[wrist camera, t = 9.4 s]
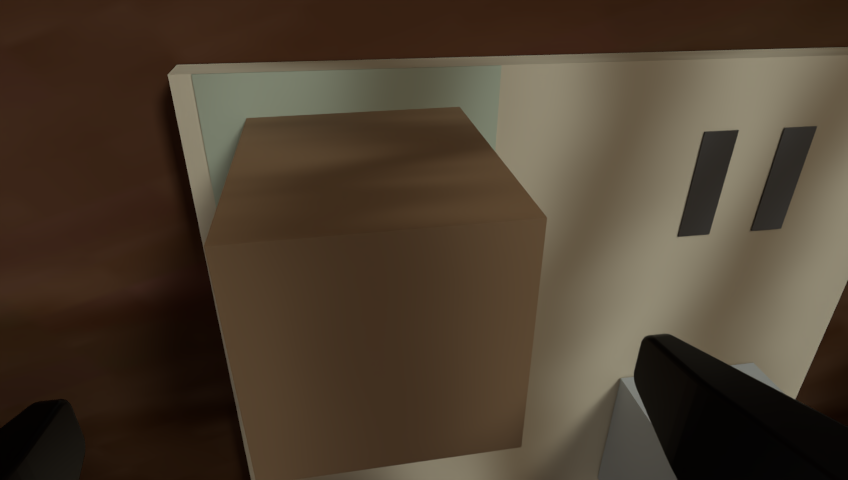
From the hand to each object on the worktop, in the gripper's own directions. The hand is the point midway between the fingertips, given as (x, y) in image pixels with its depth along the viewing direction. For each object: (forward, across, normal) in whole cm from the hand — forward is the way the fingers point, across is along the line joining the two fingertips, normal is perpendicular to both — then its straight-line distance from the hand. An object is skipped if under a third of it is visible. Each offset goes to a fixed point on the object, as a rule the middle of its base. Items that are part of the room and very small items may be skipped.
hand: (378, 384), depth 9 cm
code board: (+8, -6, +4) cm, 11 cm away
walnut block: (+6, 0, 0) cm, 7 cm away
